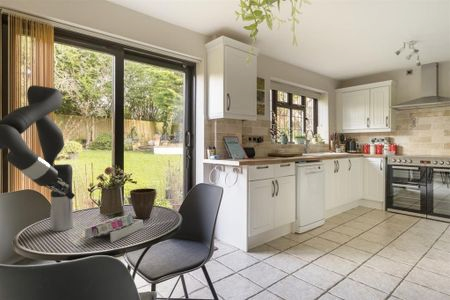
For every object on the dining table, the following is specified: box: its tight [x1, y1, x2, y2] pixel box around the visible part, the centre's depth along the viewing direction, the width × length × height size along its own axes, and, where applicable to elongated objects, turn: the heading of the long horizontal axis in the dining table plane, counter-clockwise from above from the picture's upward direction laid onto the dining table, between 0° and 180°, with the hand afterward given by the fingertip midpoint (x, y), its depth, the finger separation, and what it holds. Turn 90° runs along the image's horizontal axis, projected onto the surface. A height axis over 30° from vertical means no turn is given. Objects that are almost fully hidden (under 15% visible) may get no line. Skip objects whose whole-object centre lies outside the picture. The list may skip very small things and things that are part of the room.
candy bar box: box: [91, 213, 135, 238], centre depth 116 cm, size 11×5×16 cm
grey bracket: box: [84, 216, 144, 243], centre depth 120 cm, size 17×20×4 cm
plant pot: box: [129, 187, 157, 220], centre depth 145 cm, size 15×15×16 cm
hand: (72, 197), depth 99 cm, fingers closed
